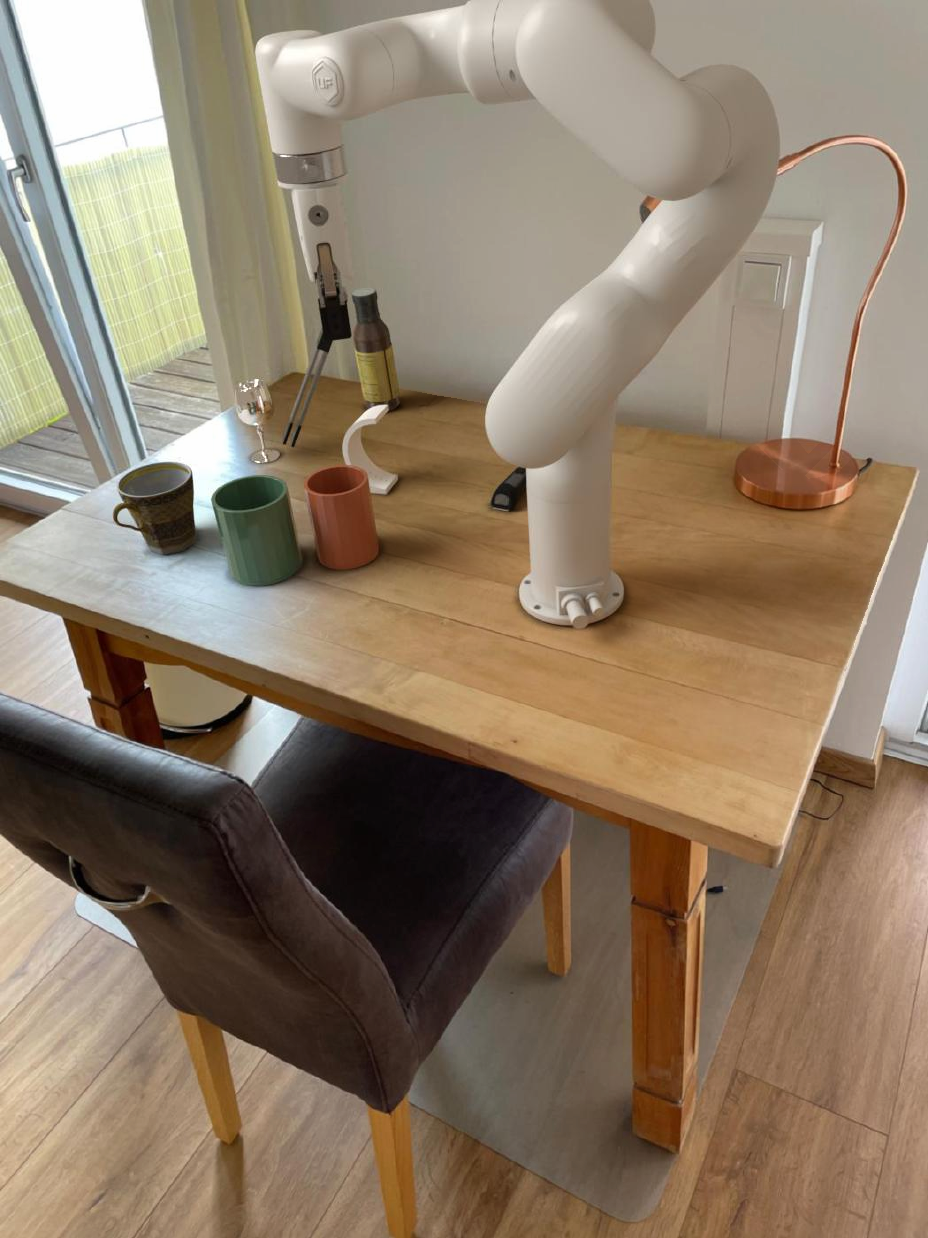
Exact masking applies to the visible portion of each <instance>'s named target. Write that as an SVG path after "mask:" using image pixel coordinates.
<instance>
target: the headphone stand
mask: <svg viewBox="0 0 928 1238" xmlns="http://www.w3.org/2000/svg"><path fill="white" fill-rule="evenodd" d="M388 410H389V409H388V405H378V406H375V407H372V408H370V409H367V410H365V412H363V413H362V414H361V415H360V416H359V418H357V420H355V422H354V423H352V425H351V426H349V428H348V429H347V430H346V431H345V434H344V437H343V439H342V449H341V450H342V456H343V460H344V463H345V465H351V466H357V467H359V468H361V469H363V470H364V471H365V472H366V473H367V474H368V480H369V487H370V493H371V494H379V495H387V494H388V493H389V492H390V491H391V489H392V488H393V487H394V486H395V484H396V483H398V482H397V481H398V480H399V476H398V474H396V473H391V472H388V471H387V470H384V469H382V468H380V467H379V466H378V465H376V464H375V462H373V461H372V460H371V459H370V458H369V456H368V455H367V453H366V451H365V449H364V446H363V444H362V435H361V434H362V429H363V427H365V426H368V425H377V424H378V423H379V422H380V420H381V419H382V418H383V417H384V416H385V415H386V414H387V413H388V412H389V411H388Z"/></svg>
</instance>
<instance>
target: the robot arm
mask: <svg viewBox="0 0 928 1238" xmlns="http://www.w3.org/2000/svg"><path fill="white" fill-rule="evenodd" d="M656 27H657V24H656V16H655V12H654V9H653V6H652V3H651V1H650V0H468V1H466V3H465V4H463V5H458V6H454V7H447V8H441V9H437V10H431V11H426V12H421V13H414V14H408V15H402V16H397V17H392V18H386V19H382V20H377V21H373V22H372V21H371V22H367V23H364V24H360V25H357V26H352V27H349V28H346V29H342V30H338V31H335V32H330V33H326V34H324V33H322V32H320V31H318V30H314V29H313V30H312V29H296V30H288V31H287V30H286V31H279V32H274V33H270V34H268V35H265V36H263V37H261V38H260V39H259V40H258V41H257V43H256V45H255V49H254V50H255V53H254V55H255V62H256V63H255V64H256V69H257V73H258V80H259V85H260V91H261V97H262V101H263V108H264V112H265V118H266V119H265V120H266V124H267V130H268V136H269V142H270V147H271V151H272V152H271V153H272V158H273V164H274V168H275V175H276V180H277V186H278V187H279V188H282V189H285V190H290V194H291V195H290V196H291V200H292V207H293V212H294V217H295V222H296V223H295V224H296V227H297V233H298V238H299V242H300V247H301V251H302V255H303V259H304V263H305V266H306V270H307V273H308V277H309V281H310V282H311V283H312V284H315V285H316V286H317V292H318V297H319V298H317V302H318V311H319V317H320V322H321V329H323V335H324V340H325V341H333V342H334V341H340V340H348V339H351V338H352V337H353V333H352V328H351V321H350V314H349V307H348V301H347V302H346V303H345V302H344V295H343V288H342V286H343V283H342V282H343V279H344V278H347V279H348V280H349V281H350V280H352V279H353V278H354V277H355V274H354V267H353V260H352V254H351V253H352V252H351V247H350V246H351V245H350V240H349V231H348V225H347V218H346V211H345V207H344V206H345V205H344V200H343V194H342V189H341V186H340V185H341V184H340V183H343V182H344V181H346V180H348V178H349V172H348V167H347V159H346V152H345V144H344V139H343V138H344V137H343V131H342V123H341V122H342V121H344V122H345V121H346V122H347V121H354V120H357V119H361V118H364V117H367V116H369V115H371V114H374V113H376V112H378V111H381V110H385V109H386V108H390V107H392V106H395V105H398V104H401V103H404V102H408V101H412V100H417V99H424V98H431V97H437V96H445V95H454V94H470V95H471V96H472V97H473V98H474V99H475V100H476V101H477V102H479V103H481V104H483V105H488V106H490V105H491V106H492V105H493V106H494V105H501V104H509V103H515V102H522V101H532V100H536V101H537V102H538V103H539V104H540V105H541V106H542V107H543V108H544V109H545V110H546V111H547V112H548V113H549V114H550V115H551V116H552V117H553V118H554V119H555V120H556V121H557V122H559V124H560V125H562V126H563V127H564V129H566V130H567V131H568V132H570V134H571V135H572V136H574V138H576V139H577V140H578V141H579V142H581V144H583V146H585V147H586V148H587V149H589V151H591V152H592V153H593V154H594V155H595V156H596V157H598V158H599V159H600V160H601V161H602V162H603V163H604V164H606V166H608V167H609V168H610V169H611V170H612V171H614V173H616V174H617V175H618V176H619V177H620V178H621V179H622V180H624V181H625V182H626V183H627V184H629V185H630V186H631V187H632V188H633V189H635V190H637V191H638V192H639V193H642V194H643V195H646V196H647V197H650V198H653V199H656V200H660V202H659V203H658V205H656V207H655V208H654V209H653V210H652V211H651V212H650V214H649V215H648V216H647V218H646V219H644V221H643V223H642V224H641V226H640V227H639V228H638V230H637V232H636V233H635V235H634V236H633V237H632V238H631V239H630V241H629V242H628V243H627V245H626V246H625V247H624V248H623V250H622V251H621V252H620V253H619V255H617V257H616V258H615V259H614V260H613V261H612V263H610V265H609V266H608V267H607V268H606V269H605V270H604V271H603V272H602V273H600V274H599V275H598V276H596V277H595V278H593V279H592V280H591V281H590V282H587V284H586V285H584V286H583V287H582V288H581V289H579V290H578V291H577V292H575V293H574V294H573V295H572V296H571V297H570V298H568V299H567V300H566V301H565V302H564V303H563V304H561V305H560V306H559V307H558V308H557V309H556V310H555V311H554V313H553V314H552V315H551V316H549V318H548V319H547V321H545V322H544V324H543V325H542V326H541V328H540V329H539V330H538V332H537V333H536V334H535V336H534V337H533V338H532V339H531V340H530V342H529V344H527V346H526V348H525V349H524V350H523V351H522V352H521V354H520V356H519V357H518V358H517V359H516V361H515V362H513V364H512V366H511V367H510V369H508V372H506V374H505V375H504V377H503V378H502V379H501V381H500V382H499V383H498V385H497V386H496V388H494V390H493V392H492V394H491V395H490V397H489V400H488V402H487V405H486V409H485V417H484V425H485V432H486V436H487V439H488V441H489V444H490V445H491V448H492V449H493V450H494V452H495V453H496V454H497V455H498V456H499V457H500V459H502V460H503V461H505V462H506V463H508V464H510V465H512V466H515V467H516V468H518V467H521V468H526V481H527V484H526V486H527V487H526V502H527V503H526V504H527V520H528V521H527V523H528V541H529V542H528V543H529V563H530V572H529V573H528V574H526V576H525V577H524V578H523V579H522V580H521V582H520V585H519V588H518V592H519V593H518V596H519V602H520V604H521V606H522V608H523V609H524V611H526V613H528V614H529V615H530V616H532V617H534V618H535V619H537V620H540V621H542V622H544V623H548V624H552V625H557V626H571V627H573V628H574V629H577V630H582V629H584V628H586V627H587V626H588V624H592V623H595V622H598V621H601V620H603V619H605V618H607V617H610V616H611V615H612V614H614V613H615V612H616V611H617V610H618V609H619V608H620V607H621V605H622V603H623V601H624V597H625V587H624V586H625V585H624V583H623V580H622V579H621V577H620V575H618V574H617V573H616V572H615V571H614V570H612V484H613V483H612V482H613V447H614V435H615V427H616V420H617V414H618V408H619V407H618V406H619V397H620V395H621V393H622V392H623V391H624V390H625V389H626V388H627V387H628V386H629V385H630V384H631V383H632V381H633V380H634V379H635V378H636V377H637V376H638V375H639V374H640V373H642V371H643V370H644V369H645V368H646V367H647V366H648V365H649V364H650V362H651V361H653V359H654V358H655V357H656V356H657V354H658V353H659V352H660V351H661V349H662V348H663V346H664V345H665V343H666V342H667V340H668V338H669V337H670V336H671V334H672V333H673V332H674V330H675V329H676V328H677V327H678V325H679V324H680V323H681V322H682V320H683V319H684V318H685V317H686V316H687V315H688V313H689V312H691V310H692V309H693V308H694V307H695V306H696V305H697V303H698V302H699V301H700V300H701V299H702V298H703V297H704V295H705V294H706V293H707V291H708V290H709V289H710V288H711V287H712V285H713V284H714V283H715V281H716V280H717V279H718V278H719V277H720V275H722V274H723V272H724V271H725V270H726V268H727V267H728V266H729V265H730V264H731V262H732V261H733V260H734V259H735V258H736V256H737V255H738V254H739V252H741V250H742V249H743V247H744V246H745V245H746V244H747V242H748V241H749V239H750V238H751V236H752V234H753V232H754V231H755V229H756V228H757V226H758V225H759V222H760V220H761V219H762V217H763V215H764V214H765V213H764V212H765V211H766V208H767V206H768V204H769V202H770V199H771V197H772V193H773V191H774V187H775V184H776V180H777V175H778V172H779V165H780V157H781V137H780V129H779V128H780V127H779V122H778V119H777V115H776V111H775V107H774V105H773V102H772V100H771V97H770V95H769V93H768V91H767V90H766V87H764V85H763V83H762V82H761V81H760V80H759V78H757V77H756V76H755V75H754V74H753V73H752V72H750V71H749V70H747V69H745V68H742V67H740V66H738V65H733V64H724V63H723V64H722V63H719V64H710V65H706V66H703V67H699V68H697V69H694V70H692V71H691V72H688V73H687V74H685V75H682V76H681V77H679V78H678V77H677V76H676V75H675V74H673V72H671V71H670V69H668V68H667V67H665V65H663V64H662V63H661V61H659V60H658V59H657V58H655V57H654V56H653V55H652V54H651V53H653V52H652V51H653V49H654V44H655V41H656V31H657V30H656ZM342 278H343V279H342Z"/></svg>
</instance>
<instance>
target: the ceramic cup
mask: <svg viewBox="0 0 928 1238" xmlns="http://www.w3.org/2000/svg"><path fill="white" fill-rule="evenodd" d="M116 489H117V492H118V495H119V496H120V499H121V501H122V502H121V503H118V504H117V505H116V506H114V508H113V511H112V519H113V523H115V524H116V525H117V526H119V527H121V528H126V529H131V530H133V531H137V532H140V533H141V535H142V537H143V540H144V541H145V544H146V545H147V547H148V549H149V551H150V552H151V553H154V554H159V555H161V556H166V555H170V554H175V553H180V552H181V553H182V552H183V551H186V549H188V548H189V547H191V546H192V545H193V544H195V543H196V541H197V533H196V532H197V531H196V521H195V512H194V511H195V508H194V501H195V500H194V499H195V486H194V475H193V470H192V468H191V467H190V466H189V465H187V464H185V463H182V462H177V461H160V462H158V461H157V462H153V463H148V464H145V465H142V466H139V467H136V468H134V469H132V470H130V471H128V472H126V473H125V474H124V475H123V476H122V477H120V479H119V480H118V481H117V484H116ZM125 509H127V511H128V513H129V515H130V517H131V518H132V520H133V521H134V523H135V525H136V526H134V525H132V524H125V523H122V522H120V521H119V519H118V517H119V516H118V515H119V514H120V512H121V511H122V510H125Z"/></svg>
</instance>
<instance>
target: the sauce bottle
mask: <svg viewBox="0 0 928 1238" xmlns="http://www.w3.org/2000/svg"><path fill="white" fill-rule="evenodd" d="M378 297H379V296H378V292H377V289H376V288H374V287H360V288H357V289H354V290H353V291H352V292H351V300H352V303H353V305H354V310H355V314H356V316H355V318H356V324H355V326H354V329H353V332H352V339H353V347H354V354H355V358H356V364H357V369H358V375H359V381H360V387H361V392H362V398H363V399H364V405H365V407H366V409H367V410H368V409H370V408H372V407H375V406H378V405H388V409H389V410H388V412H390V411H393V410H395V409H396V408H397V407H398V406H399V405H400V404H401V397H400V387H399V381H398V375H397V368H396V361H395V355H394V349H393V343H392V341H391V335H390V334H391V333H390V329H389V328H388V326H387V324H386V323H385V322H384V321H383V320H382V319H381V313H380V310H379V305H378V304H379V303H378V299H379V298H378Z"/></svg>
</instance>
